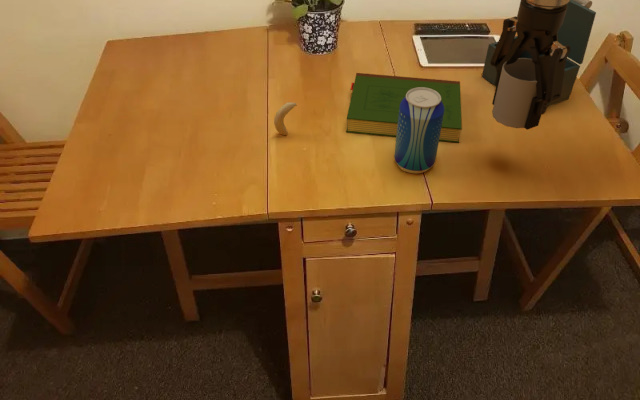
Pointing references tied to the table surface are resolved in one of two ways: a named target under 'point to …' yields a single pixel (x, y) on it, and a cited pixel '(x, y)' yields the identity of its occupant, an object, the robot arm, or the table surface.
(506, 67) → the cup
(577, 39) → the lid
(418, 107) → the beer can
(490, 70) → the chest
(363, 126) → the hardcover book
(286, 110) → the fruit
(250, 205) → the table surface
